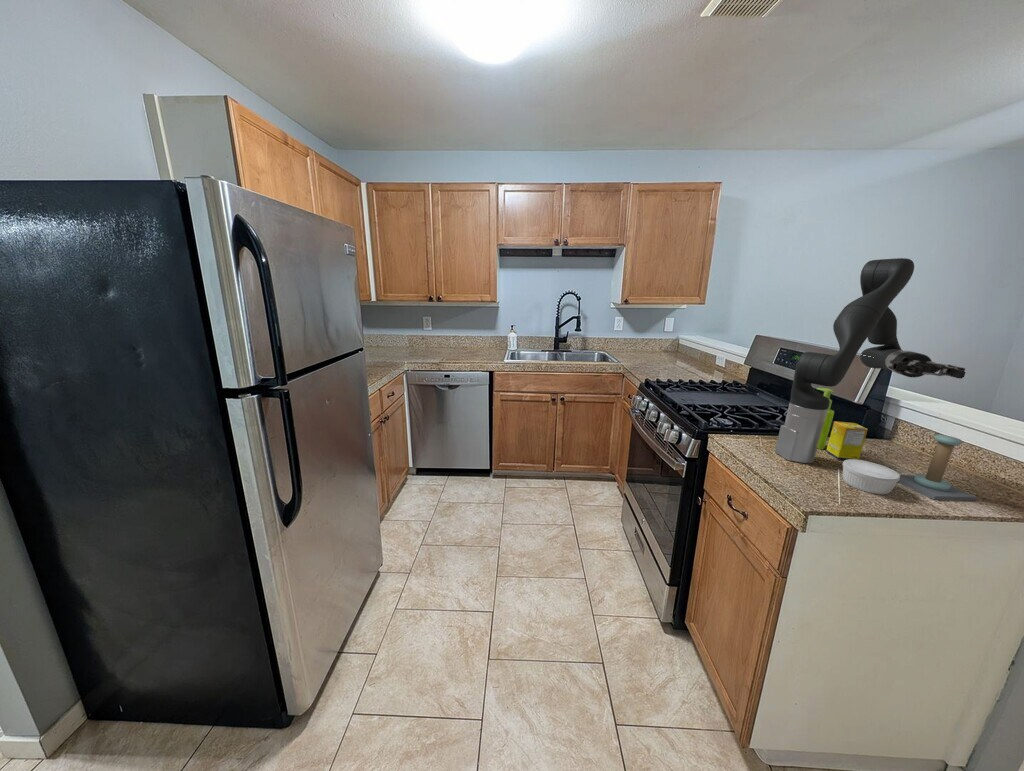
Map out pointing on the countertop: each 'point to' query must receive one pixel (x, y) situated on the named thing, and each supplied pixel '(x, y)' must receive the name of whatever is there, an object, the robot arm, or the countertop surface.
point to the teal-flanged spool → (938, 464)
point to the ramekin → (869, 476)
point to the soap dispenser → (826, 420)
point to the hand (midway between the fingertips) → (940, 373)
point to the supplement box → (846, 440)
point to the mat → (934, 494)
